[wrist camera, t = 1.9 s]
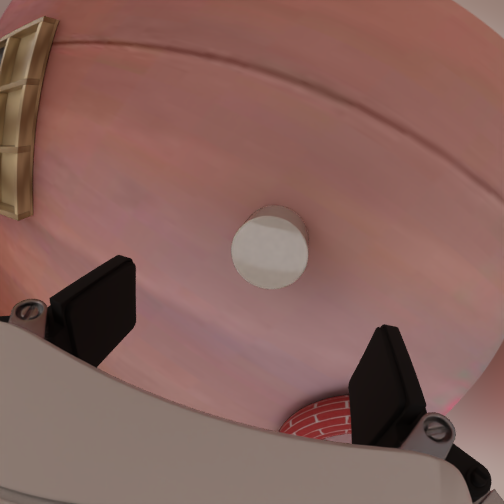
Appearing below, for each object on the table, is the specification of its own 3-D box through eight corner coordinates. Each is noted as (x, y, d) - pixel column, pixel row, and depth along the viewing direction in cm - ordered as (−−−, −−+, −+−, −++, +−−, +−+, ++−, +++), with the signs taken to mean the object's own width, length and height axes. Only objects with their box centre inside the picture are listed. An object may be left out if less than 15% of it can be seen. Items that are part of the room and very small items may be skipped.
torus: (388, 461, 26) (390, 483, 23) (279, 465, 29) (275, 487, 26) (426, 379, 21) (435, 407, 18) (274, 386, 24) (268, 416, 21)
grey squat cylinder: (249, 198, 19) (237, 207, 16) (315, 214, 18) (317, 226, 15) (237, 259, 20) (225, 279, 17) (299, 275, 20) (297, 297, 17)
